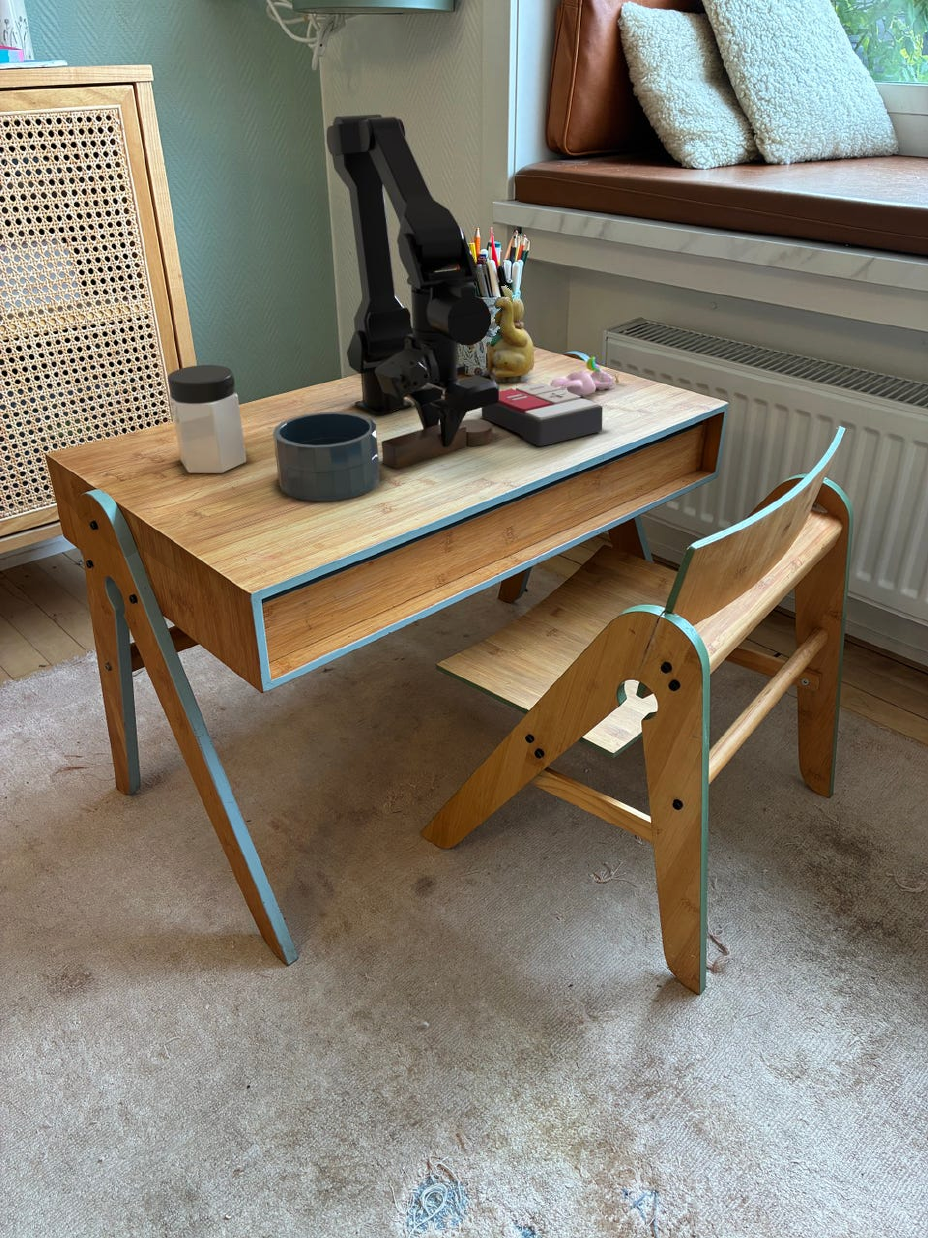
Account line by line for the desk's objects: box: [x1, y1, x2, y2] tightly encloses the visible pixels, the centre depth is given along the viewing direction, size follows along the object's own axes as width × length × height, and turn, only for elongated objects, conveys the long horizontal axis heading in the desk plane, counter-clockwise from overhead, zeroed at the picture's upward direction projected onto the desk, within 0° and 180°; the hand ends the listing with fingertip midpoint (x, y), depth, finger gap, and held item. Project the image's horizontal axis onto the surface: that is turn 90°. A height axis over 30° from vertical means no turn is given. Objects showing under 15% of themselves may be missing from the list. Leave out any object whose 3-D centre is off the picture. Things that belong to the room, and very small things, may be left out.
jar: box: [167, 364, 247, 474], centre depth 128 cm, size 9×8×12 cm
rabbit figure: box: [549, 356, 620, 398], centre depth 151 cm, size 6×6×15 cm
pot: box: [272, 411, 380, 503], centre depth 123 cm, size 13×13×7 cm
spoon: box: [381, 419, 493, 470], centre depth 133 cm, size 17×5×3 cm, turn 130°
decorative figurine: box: [485, 285, 535, 383], centre depth 157 cm, size 10×8×15 cm
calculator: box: [481, 382, 604, 447], centre depth 140 cm, size 11×4×15 cm
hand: (439, 442), depth 133 cm, fingers closed on spoon, 3 cm apart
